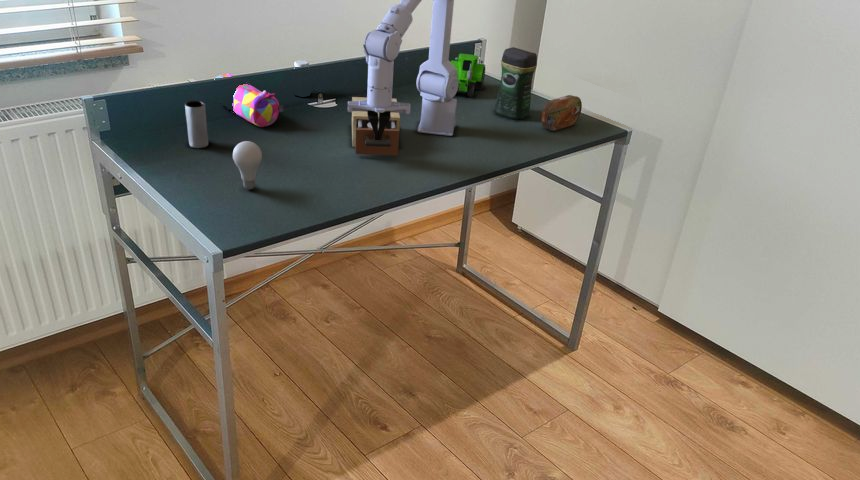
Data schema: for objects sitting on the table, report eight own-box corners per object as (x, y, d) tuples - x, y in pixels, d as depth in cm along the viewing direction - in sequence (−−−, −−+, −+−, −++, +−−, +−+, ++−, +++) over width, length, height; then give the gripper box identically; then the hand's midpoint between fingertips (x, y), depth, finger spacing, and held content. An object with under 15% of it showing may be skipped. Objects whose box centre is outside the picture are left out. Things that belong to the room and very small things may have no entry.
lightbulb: (237, 182, 162) (233, 136, 156) (264, 183, 163) (262, 137, 157) (233, 195, 157) (229, 147, 151) (262, 195, 158) (259, 148, 152)
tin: (545, 133, 200) (550, 104, 196) (536, 130, 202) (541, 100, 197) (579, 123, 209) (585, 94, 204) (571, 119, 211) (576, 91, 206)
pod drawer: (399, 163, 175) (400, 139, 171) (355, 162, 174) (356, 137, 170) (394, 135, 189) (395, 112, 186) (354, 134, 188) (355, 110, 185)
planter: (212, 143, 179) (208, 103, 173) (200, 149, 175) (196, 108, 170) (197, 139, 180) (193, 99, 175) (185, 145, 177) (180, 104, 171)
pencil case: (286, 123, 193) (285, 90, 188) (257, 131, 187) (255, 97, 182) (237, 100, 205) (235, 68, 200) (208, 107, 199) (205, 74, 194)
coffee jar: (533, 116, 211) (543, 51, 201) (517, 122, 206) (527, 56, 196) (506, 106, 216) (515, 43, 206) (490, 112, 211) (498, 47, 201)
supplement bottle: (306, 90, 215) (306, 58, 210) (314, 96, 212) (314, 63, 206) (289, 93, 213) (288, 60, 207) (297, 99, 209) (297, 65, 204)
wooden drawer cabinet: (398, 148, 185) (400, 117, 180) (352, 146, 183) (353, 116, 179) (394, 127, 196) (396, 98, 192) (351, 126, 195) (352, 96, 190)
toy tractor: (442, 96, 220) (445, 63, 214) (450, 79, 233) (453, 48, 228) (478, 100, 219) (482, 67, 213) (484, 84, 232) (487, 52, 227)
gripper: (348, 89, 163) (347, 146, 170) (412, 92, 165) (409, 148, 172) (348, 79, 169) (347, 134, 176) (410, 82, 171) (406, 136, 178)
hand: (377, 140), depth 175 cm, fingers closed
